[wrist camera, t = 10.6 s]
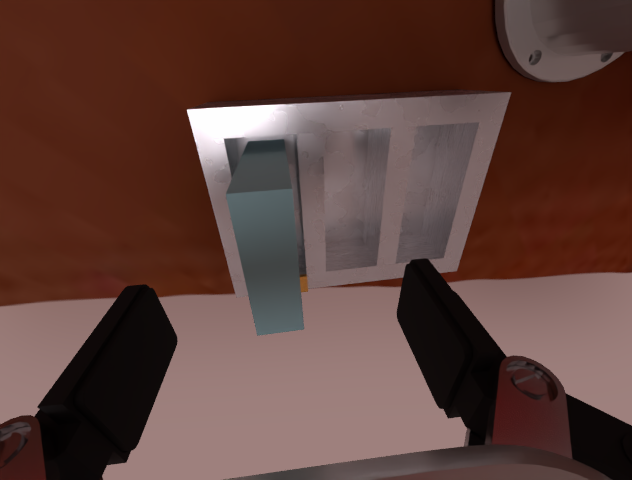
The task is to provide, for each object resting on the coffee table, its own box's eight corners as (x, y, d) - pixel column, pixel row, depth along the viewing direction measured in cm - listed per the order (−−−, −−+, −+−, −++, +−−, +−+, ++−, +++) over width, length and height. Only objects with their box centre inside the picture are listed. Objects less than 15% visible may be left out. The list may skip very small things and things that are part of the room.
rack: (459, 89, 19) (515, 92, 15) (426, 241, 26) (458, 274, 22) (207, 102, 18) (185, 109, 13) (243, 261, 25) (236, 302, 20)
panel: (283, 138, 19) (292, 188, 10) (292, 236, 23) (304, 329, 14) (248, 141, 18) (225, 193, 10) (263, 239, 23) (257, 335, 14)
